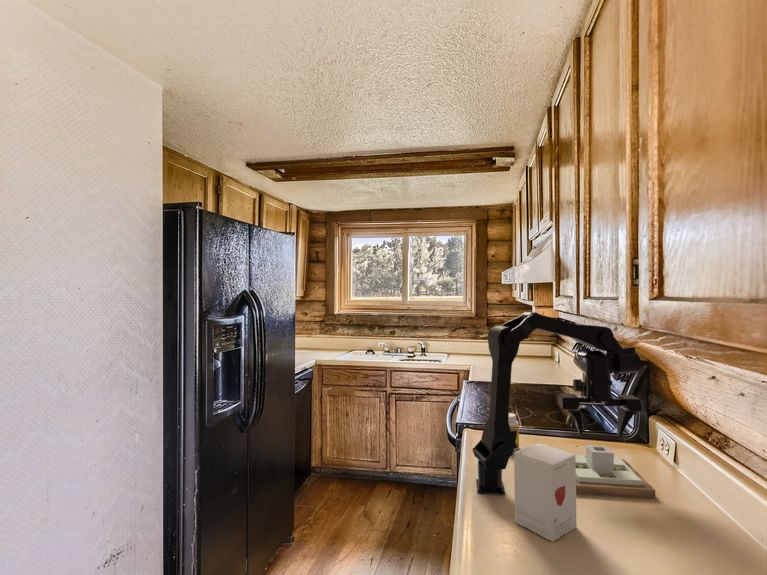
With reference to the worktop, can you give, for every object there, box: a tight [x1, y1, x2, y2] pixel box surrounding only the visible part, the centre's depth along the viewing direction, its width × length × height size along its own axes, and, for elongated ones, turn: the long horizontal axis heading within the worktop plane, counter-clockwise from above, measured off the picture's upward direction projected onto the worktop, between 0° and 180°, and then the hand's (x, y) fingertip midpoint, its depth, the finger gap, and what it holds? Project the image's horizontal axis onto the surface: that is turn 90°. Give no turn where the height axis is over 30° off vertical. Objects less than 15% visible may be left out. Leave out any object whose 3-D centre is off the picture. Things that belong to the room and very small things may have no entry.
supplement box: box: [513, 442, 578, 542], centre depth 85 cm, size 9×9×15 cm
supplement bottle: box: [508, 412, 520, 451], centre depth 128 cm, size 6×6×10 cm
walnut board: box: [576, 450, 656, 500], centre depth 106 cm, size 18×18×7 cm
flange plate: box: [575, 444, 642, 486], centre depth 106 cm, size 14×14×6 cm
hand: (599, 435), depth 106 cm, fingers open, 9 cm apart
